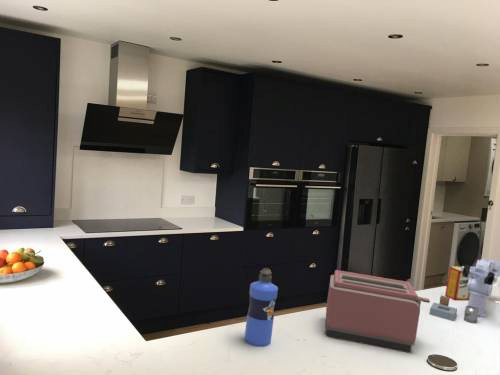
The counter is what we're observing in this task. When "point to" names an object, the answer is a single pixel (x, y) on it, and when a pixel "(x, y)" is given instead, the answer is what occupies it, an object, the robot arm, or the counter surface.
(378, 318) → the toaster
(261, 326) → the water bottle
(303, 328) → the counter surface
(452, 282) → the baking soda box
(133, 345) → the counter surface
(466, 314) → the round peg
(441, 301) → the square peg
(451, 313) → the socket block
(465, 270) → the robot arm
